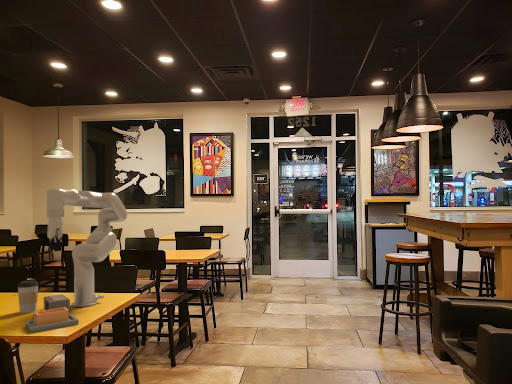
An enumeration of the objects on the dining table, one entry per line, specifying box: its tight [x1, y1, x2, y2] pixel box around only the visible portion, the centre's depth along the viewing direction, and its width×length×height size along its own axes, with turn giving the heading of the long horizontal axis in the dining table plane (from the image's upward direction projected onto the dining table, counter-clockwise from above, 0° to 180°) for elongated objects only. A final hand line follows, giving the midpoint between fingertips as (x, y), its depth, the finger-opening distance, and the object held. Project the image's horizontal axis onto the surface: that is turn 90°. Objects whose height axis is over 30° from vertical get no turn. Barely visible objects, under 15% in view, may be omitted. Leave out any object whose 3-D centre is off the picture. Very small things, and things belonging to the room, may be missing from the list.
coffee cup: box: [17, 279, 39, 314], centre depth 192 cm, size 9×9×15 cm
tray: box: [25, 313, 80, 334], centre depth 166 cm, size 18×13×2 cm
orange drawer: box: [33, 307, 69, 326], centre depth 166 cm, size 13×7×5 cm, turn 128°
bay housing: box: [43, 294, 71, 314], centre depth 183 cm, size 16×8×8 cm, turn 38°
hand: (55, 250), depth 186 cm, fingers open, 9 cm apart
